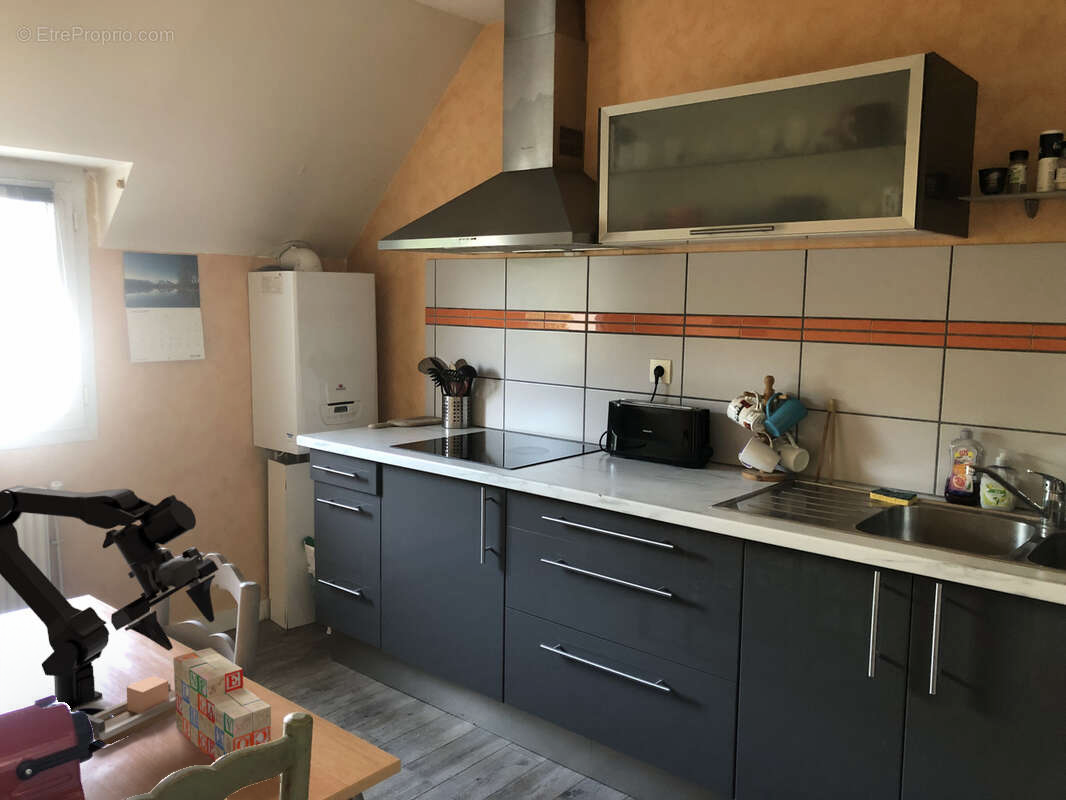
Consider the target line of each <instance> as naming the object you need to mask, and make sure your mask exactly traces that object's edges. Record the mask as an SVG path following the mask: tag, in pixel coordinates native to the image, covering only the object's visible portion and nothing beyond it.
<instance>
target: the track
mask: <svg viewBox="0 0 1066 800" xmlns="http://www.w3.org/2000/svg"><path fill="white" fill-rule="evenodd" d="M168 692H169V700H167V701H165V702H163V703H161V704H159V705H157V706H155V707H152V708H150V709H148V710H146V711H144V712H142V713H140V714H138V713H135V712H132V711H129V710H127V699H126V700H124V701H122V702H120V703H117V704H115V705H112V706H111V707H109V708H106V709H104V710H101V711H99V712H97V713H95V714H93V715H91V714H87V713H85V714H86V715H87V716H88V718H89V720H90V722H91V725H92V728H93V733H94V739H95V740H102V741H103V742H104V743H106V744H112V743H114V742H116V741H118V740H121V739H123V738H126V737H127V736H130V735H132V734H134V733H136V734H138V733H140V732H142V731H144V730H146V729H149V728H150V727H152V726H154V725H156V724H158V723H160V722H162V721H164V719H165V720H166V718H167V719H169V718H171V717H172V715H173V716H174V714H175V715H176V696H175V694H176V692H175V689H171V683H170V682H168ZM110 713H111V715H113V716H114V717H113V718H108V717H109V716H110ZM170 716H171V717H170ZM168 717H169V718H168ZM153 724H154V725H153ZM143 729H144V730H143ZM141 730H142V731H141ZM139 731H140V732H139ZM137 732H138V733H137ZM134 735H135V734H134ZM132 736H133V735H132ZM130 737H131V736H130ZM126 739H127V738H126Z"/></svg>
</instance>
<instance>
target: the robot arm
mask: <svg viewBox="0 0 1066 800" xmlns="http://www.w3.org/2000/svg"><path fill="white" fill-rule="evenodd" d="M23 514H32V515H33V514H35V515H45V516H54V517H66V518H74V519H78V520H81V521H82V522H84V524H86V525H89V526H93V527H96V528H100V529H103V530H109V531H107V532H106V533H105V539H104V540H103V543H102V548H103V549H107V548H109V547H111V546H114V545H115V546H116V547H117V549H118V551H119V552H120V554H121V557H122V558H123V559H124V561H125V563H126V564H127V565H128V568H129V569H130V572H128V573H127V574H128V576H129V578H130V579H134V578H135V579H136V581H137V583H138V584H139V585H140V588H141V589H142V591H143V592H142V593H140V597H138V598H137V599H135V600H134V601H132V602H130V603H128V604H126V605H125V606H123V607H122V608H119V609H118V610H116V611H115V612H113V613H111V618H110V622H111V624H112V626H113V628H114V629H115V631H119V630H120V629H122V628H124V630H125V632H127V631H130V630H132V631H134V632H135V633H138V634H140V635H141V636H144V637H146V638H147V639H149V640H151V641H152V642H154V644H157V645H158V646H160V647H162V648H163V649H165V650H167V651H171V650H172V649H173V648H174V646H173V645H172V642H171V640H170V638H169V636H168V635H167V634H166V632H165V631H164V629H163V628H162V626H161V624H160V623H159V621H158V616H157V610H154V611H152V612H151V608H152V607H153V606H155V605H157V604H159V603H160V602H161V601H163V600H165V599H166V598H168V597H170V596H172V595H173V594H175V593H177V592H178V591H180V590H181V589H183V588H185V587H188V589H187V590H185V593H186V594H187V595H188V597H189V598H190V600H191V601H192V602H193V603H194V604H195V606H196V607H197V609H198V610H199V612H200V613H201V614H202V616H203V617H204V618H205V619H206V620H207V621H208V622H209V623H212V622H215V613H214V609H213V603H212V598H211V585H212V581H213V579H215V578H216V574H213V573H215V572H217V571H218V570H219V567H218V565H217V564H216V563H217V562H216V561H215V560H212V559H211V558H208V557H207V558H205V559H203V556H202V554H201V553H200V551H199V550H198V548H197V547H189V548H187V549H186V550H184V551H182V555H180V556H179V557H174V555H173V554H172V553H171V552H170V551H169V550H167V551H165V552H164V550H163V549H162V547H161V546H160V545H163V546H164V545H165V546H166V545H168V544H170V543H171V542H172V541H175V540H176V539H178V538H180V537H181V536H183V535H185V534H187V533H188V532H190V531H193V530H194V529H195V527H196V525H197V518H196V516H195V513H194V510H192V508H191V507H189V506H188V505H187V504H186V503H185V502H183V501H181V500H178V498H177V497H176V495H175V494H171V495H169V496H167V497H165V498H163V499H162V500H160V501H159V502H158V503H157V504H154V503H151V502H150V501H148V500H147V501H146V500H145V499H142V498H140V497H138V496H137V495H136V494H135V492H134V490H132V489H129V488H116V489H106V490H100V491H93V492H81V491H69V490H58V489H51V488H50V489H48V488H47V489H46V488H37V487H30V486H29V487H28V486H25V485H22V484H21V485H16V486H12V487H8V488H5V489H3V490H0V575H1V577H2V579H4V580H5V581H6V582H7V584H9V586H10V587H11V589H13V591H14V592H15V593H16V594H17V595H18V596H19V598H21V599H22V601H23V602H24V603H25V604H26V605H27V606H28V607H29V608H30V610H31V611H32V612H33V613H34V614H35V616H37V617H38V618H39V621H41V622H42V623H43V624H44V626H45V627H46V630H47V636H48V643H49V644H48V645H50V647H51V649H52V650H53V652H51V654H50V655H49V656H47V658H46V659H45V660H44V661H43V662H42V663H41V668H42V671H43V673H44V675H45V676H49V677H50V676H52V677H53V679H54V696H56V697H57V700H58V702H65V703H67V704H68V705H69V706H70V708H71V710H70V711H72V710H74V709H77V708H79V707H81V706H84V705H86V704H88V703H90V702H92V701H95V700H97V699H101V698H103V693H102V692H100V691H97V690H96V689H95V684H96V683H95V675H94V665H93V662H94V661H95V660H97V659H99V658H100V657H102V656H101V655H102V653H103V650H104V649H105V648H106V647H107V646H108V643H109V635H110V631H109V629H108V627H107V626H106V624H107V621H106V620H104V619H102V618H101V617H100V616H99V615H98V613H97V612H96V610H95V609H94V608H93V607H92V606H88V607H87V608H85V609H84V610H81V609H78V608H77V607H74V605H72V604H71V603H70V602H69V601H68V599H66V598H65V597H64V595H63V594H62V593H61V591H59V590H58V588H57V587H56V586H55V585H54V584H53V583H52V582H51V581H50V579H49V578H48V577H47V576H46V575H45V574H44V573H43V572H42V570H41V569H40V568H39V567H38V566H37V565H36V564H35V562H34V561H33V560H32V559H31V558H30V557H29V556H28V554H27V553H26V552H25V551H24V550H23V549H22V547H20V541H19V534H18V530H17V528H16V527H15V525H14V524H15V523H16V522H18V520H19V519H20V518H22V515H23ZM139 521H140V524H136V523H137V522H139ZM134 523H135V524H134ZM118 526H120V527H121V526H123V527H122V528H120V529H115V528H116V527H118ZM110 529H111V530H110ZM211 574H213V575H211ZM169 587H170V588H169Z"/></svg>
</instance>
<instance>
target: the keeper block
mask: <svg viewBox="0 0 1066 800" xmlns="http://www.w3.org/2000/svg"><path fill="white" fill-rule="evenodd" d="M168 683H169V680H168V679H167V680H166V679H163V678H160V677H157V676H155V675H151V676H148V677H147V678H144V679H142V680H139V681H137V682H135V683H132V684H129V685H128V686H126V700H127V710H129V711H132V712H135V713H138V714H140V713H142V712H144V711H146V710H148V709H150V708H152V707H155V706H157V705H159V704H161V703H163V702H165V701H167V700H169V692H168Z"/></svg>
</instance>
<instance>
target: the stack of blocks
mask: <svg viewBox="0 0 1066 800" xmlns="http://www.w3.org/2000/svg"><path fill="white" fill-rule="evenodd" d="M173 672H174V674H173V676H174V677H173V678H174V679H173V680H174V681H173V683H174V690H175V692H176V694H175V696H176V714H175V722H176V728H177V729H178V730H179V731H180V732H181V733H182V734H183V736H185V737H186V738H187V739H188V740H190V741H191V742H192V743H193V745H195V746H196V747H197V748H199V749H200V750H202V751H203V752H204V753H205V754H206V755H208V756H209V757H210V758H211V759H213V761H215V760H216V759H218V758H219V757H221V756H223V755H225V754H227V753H230V752H233V751H235V750H238V749H241V748H245V747H249V746H253V745H258V744H261V743H265V742H269V741H271V742H272V739H271V737H272V736H271V735H272V734H271V733H272V732H271V725H272V706H271V705H270V704H268V703H267V702H266V701H264V700H262V699H261V698H260V697H258V695H256V694H254V693H252V692H251V691H250V690H249V689H247V688H245V687H244V671H243V668H242V667H240V666H239V665H237V664H235V663H234V662H232V661H231V660H229V659H228V658H226V657H225V656H223V655H222V654H220V653H218V651H216V650H215V649H213V648H212V647H208V648H207V647H206V648H204V649H200V650H196V651H192V652H189V653H186V654H185V653H184V654H182V655H179V656H174V657H173Z"/></svg>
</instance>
